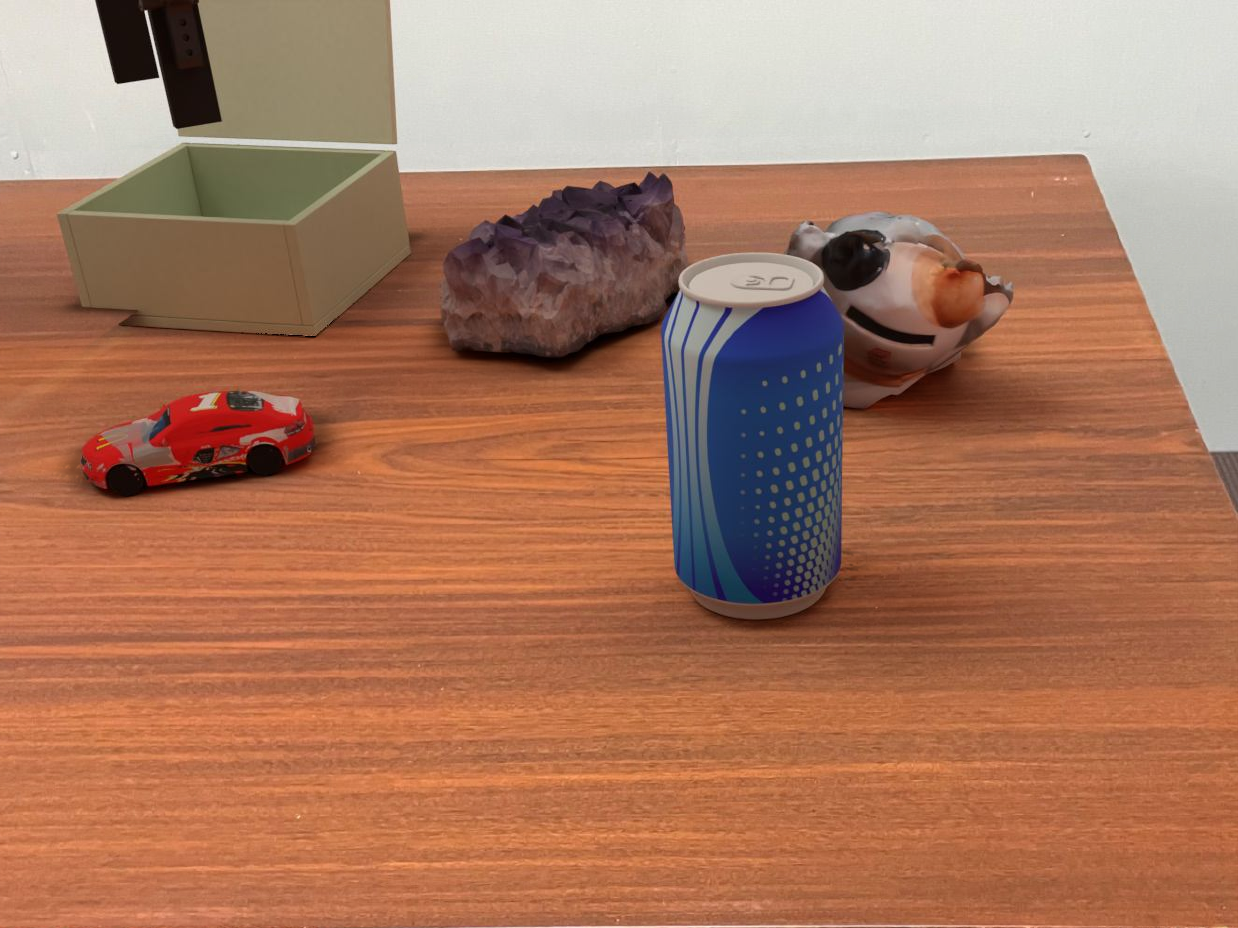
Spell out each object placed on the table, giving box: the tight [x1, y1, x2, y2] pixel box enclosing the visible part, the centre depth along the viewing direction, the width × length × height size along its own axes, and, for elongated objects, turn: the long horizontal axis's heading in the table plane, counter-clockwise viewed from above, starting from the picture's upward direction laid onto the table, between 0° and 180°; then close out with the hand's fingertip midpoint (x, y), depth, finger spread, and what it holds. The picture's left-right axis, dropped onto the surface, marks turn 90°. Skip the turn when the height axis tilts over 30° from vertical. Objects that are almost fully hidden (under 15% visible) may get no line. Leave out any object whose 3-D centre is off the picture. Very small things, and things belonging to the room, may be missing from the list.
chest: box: [56, 142, 412, 337], centre depth 117 cm, size 18×18×8 cm
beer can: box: [660, 251, 844, 620], centre depth 77 cm, size 8×8×16 cm
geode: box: [439, 171, 690, 358], centre depth 110 cm, size 20×12×10 cm, turn 144°
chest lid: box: [177, 0, 398, 145], centre depth 118 cm, size 18×18×1 cm
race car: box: [79, 390, 317, 497], centre depth 93 cm, size 13×5×4 cm, turn 106°
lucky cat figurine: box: [783, 211, 1014, 410], centre depth 99 cm, size 15×12×14 cm
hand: (166, 101), depth 100 cm, fingers open, 13 cm apart
